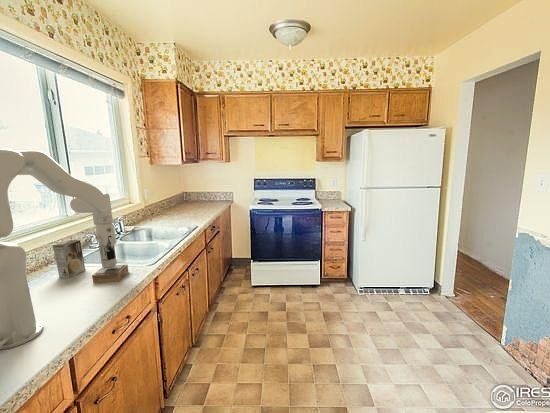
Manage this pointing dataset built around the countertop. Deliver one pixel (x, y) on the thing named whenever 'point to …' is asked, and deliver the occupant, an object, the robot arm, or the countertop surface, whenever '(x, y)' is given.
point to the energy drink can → (103, 255)
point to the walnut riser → (110, 274)
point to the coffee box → (69, 258)
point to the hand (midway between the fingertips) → (108, 257)
